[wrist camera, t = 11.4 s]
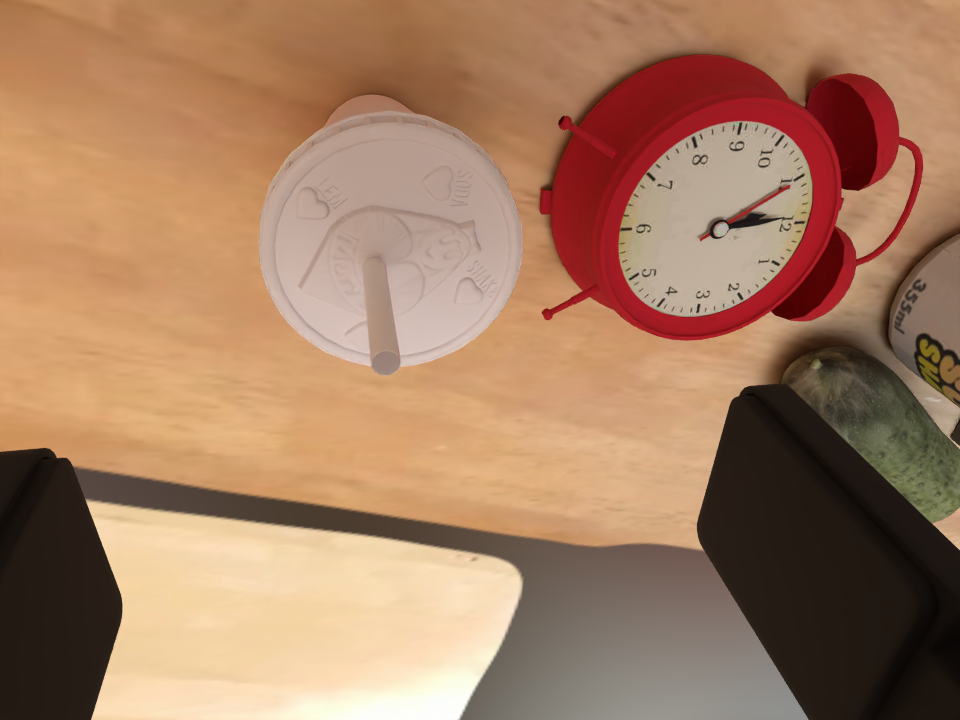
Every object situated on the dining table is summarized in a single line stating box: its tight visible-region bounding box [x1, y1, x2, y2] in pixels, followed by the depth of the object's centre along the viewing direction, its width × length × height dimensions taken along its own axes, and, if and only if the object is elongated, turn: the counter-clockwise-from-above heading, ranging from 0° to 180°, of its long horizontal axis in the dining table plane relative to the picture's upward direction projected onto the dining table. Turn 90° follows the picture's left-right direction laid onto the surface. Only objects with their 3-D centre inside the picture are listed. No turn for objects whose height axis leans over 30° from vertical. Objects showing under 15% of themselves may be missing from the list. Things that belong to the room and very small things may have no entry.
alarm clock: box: [540, 55, 923, 341], centre depth 25 cm, size 10×6×15 cm
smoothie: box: [259, 95, 523, 375], centre depth 18 cm, size 6×6×14 cm
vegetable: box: [781, 346, 960, 523], centre depth 34 cm, size 14×5×5 cm, turn 46°
